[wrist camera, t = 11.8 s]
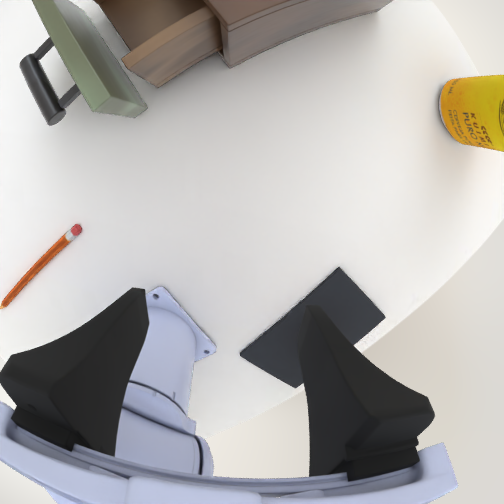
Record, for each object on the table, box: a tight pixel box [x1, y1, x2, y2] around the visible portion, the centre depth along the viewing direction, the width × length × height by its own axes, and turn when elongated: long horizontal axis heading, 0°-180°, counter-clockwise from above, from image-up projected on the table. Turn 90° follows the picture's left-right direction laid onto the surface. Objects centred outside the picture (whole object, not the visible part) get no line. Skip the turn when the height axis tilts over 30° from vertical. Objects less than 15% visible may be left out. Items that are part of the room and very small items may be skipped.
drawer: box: [20, 0, 223, 126], centre depth 11 cm, size 16×11×6 cm
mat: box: [240, 267, 386, 388], centre depth 25 cm, size 12×8×1 cm, turn 136°
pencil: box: [0, 224, 82, 309], centre depth 21 cm, size 1×18×1 cm, turn 120°
